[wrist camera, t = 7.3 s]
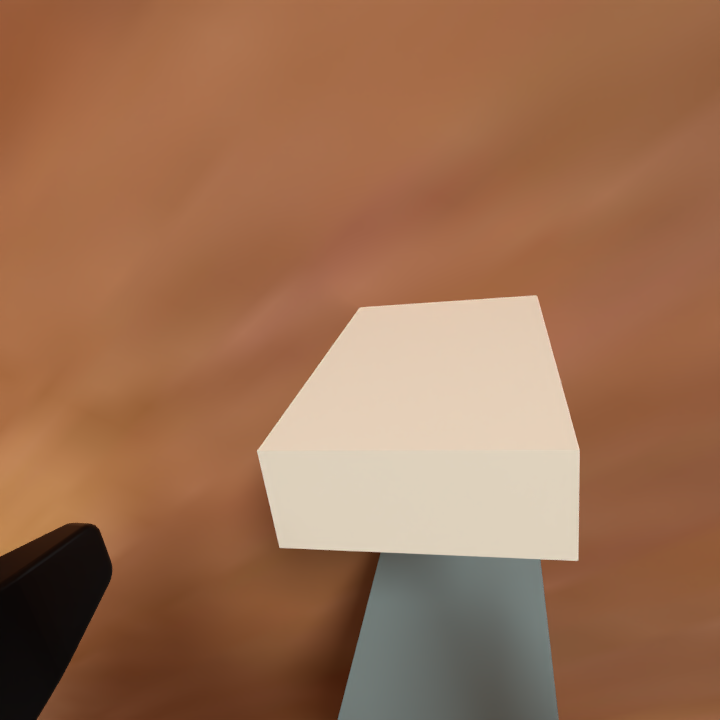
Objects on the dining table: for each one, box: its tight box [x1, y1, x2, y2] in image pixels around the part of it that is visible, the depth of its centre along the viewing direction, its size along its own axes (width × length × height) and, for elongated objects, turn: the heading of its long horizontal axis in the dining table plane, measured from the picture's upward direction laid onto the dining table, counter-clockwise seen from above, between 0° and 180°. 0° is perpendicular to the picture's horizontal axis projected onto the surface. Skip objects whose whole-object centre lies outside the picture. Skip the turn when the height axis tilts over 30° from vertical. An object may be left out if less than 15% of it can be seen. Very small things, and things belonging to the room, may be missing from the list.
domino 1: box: [257, 295, 580, 561], centre depth 12 cm, size 2×5×8 cm, turn 97°
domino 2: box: [338, 552, 559, 720], centre depth 15 cm, size 2×5×8 cm, turn 97°
